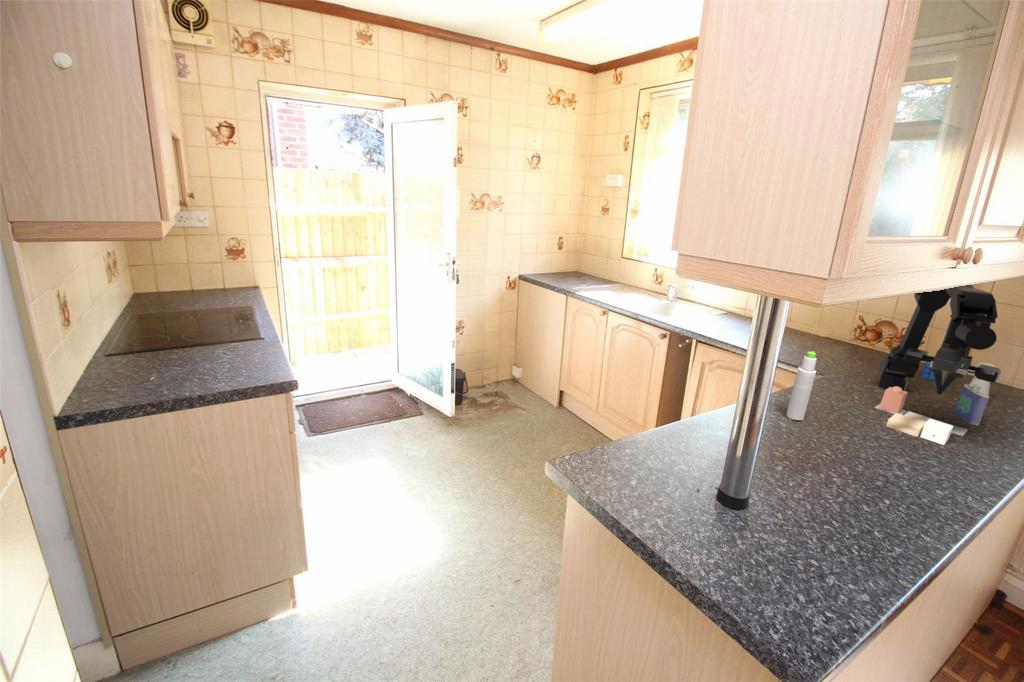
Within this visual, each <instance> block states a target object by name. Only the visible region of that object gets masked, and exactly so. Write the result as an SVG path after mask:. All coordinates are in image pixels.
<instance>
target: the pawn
mask: <svg viewBox="0 0 1024 682" xmlns="http://www.w3.org/2000/svg"><path fill="white" fill-rule="evenodd" d="M908 393H909V392H908V391H906V390H905V391H903V390H902V389H901V388H900V387H898V386H895V387H889V388H888V389H886V390H885V389H884V393H883V396H882V399H881V401H880V403H881V405H880V408H881V409H884V410H887V411H890V412H893V413H899V412H900V411H902V409H904V404H905V403H906V399H907V396H908Z"/></svg>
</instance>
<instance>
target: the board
mask: <svg viewBox="0 0 1024 682" xmlns="http://www.w3.org/2000/svg"><path fill="white" fill-rule="evenodd" d="M880 405H881V402H880V403H879V404H877V405H876V406H874V407H873V408H874V409H877V410H879V411H880V410H881V411H883V412H887V413H889V414H892V415H894V414H896V413H893V412H890V411H887V410H884V409H881V408H880ZM898 414H901V415H904V416H907V417H910V418H913V419H916V420H919V421H923V422H927V421H928V420H929V419H933V420H936V419H934V418H931V417H928V416H925V415H922V414H919V413H915V412H913V411H909V410H908V411H907V410H906V409H904V408H902V411H900V412H899V413H898ZM938 421H939V422H942V423H945V424H949V425H952V426H953V429H952V431H951V434H954V435H957V436H958V435H959V436H961V437H963V436H964V435H965V434H967V432H968V429H967V428H963V427H960V426H957V425H954V424H950V423H947V422H944V421H942V420H938Z"/></svg>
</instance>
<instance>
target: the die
mask: <svg viewBox="0 0 1024 682" xmlns="http://www.w3.org/2000/svg"><path fill="white" fill-rule="evenodd" d="M933 419H934V418H932V419H929V420H928V421H927V422H926V423H925V425H924V428H923V431H922V433H921V434H920V435H919V437H920V438H922V439H925V440H927V441H931V442H933V443H937V444H940V445H942V446H945V445H946V443H947V442H948V441H949V439H950V436H951V435H952V433H951V431H952V429H953V426H952V425H953V424H951V425H949V424H950V423H948V424H945V423H946V422H945V423H942V422H943V421H941V422H939V421H940V420H937V419H935V420H933Z"/></svg>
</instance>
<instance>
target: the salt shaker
mask: <svg viewBox="0 0 1024 682" xmlns="http://www.w3.org/2000/svg"><path fill="white" fill-rule="evenodd" d="M981 364H983V365H988V366H992V367H996V368H997V366H995V365H994V364H992V363H988V362H980V363H978V364H977V367H979V366H980V365H981ZM973 376H974V377H973V378H972V379H971V381H970V382H969V384H968V385H971V386H972V384H973V383H974V385H975V384H978V385H979V386H980V385H981V386H982V388H980V390H979V391H980V392H982V393H984V394H985V395H987V396H989V397H990V389H991V382H988V381H984V380H980V379H977V378H976V376H975V375H973ZM974 385H973V387H974Z"/></svg>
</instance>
